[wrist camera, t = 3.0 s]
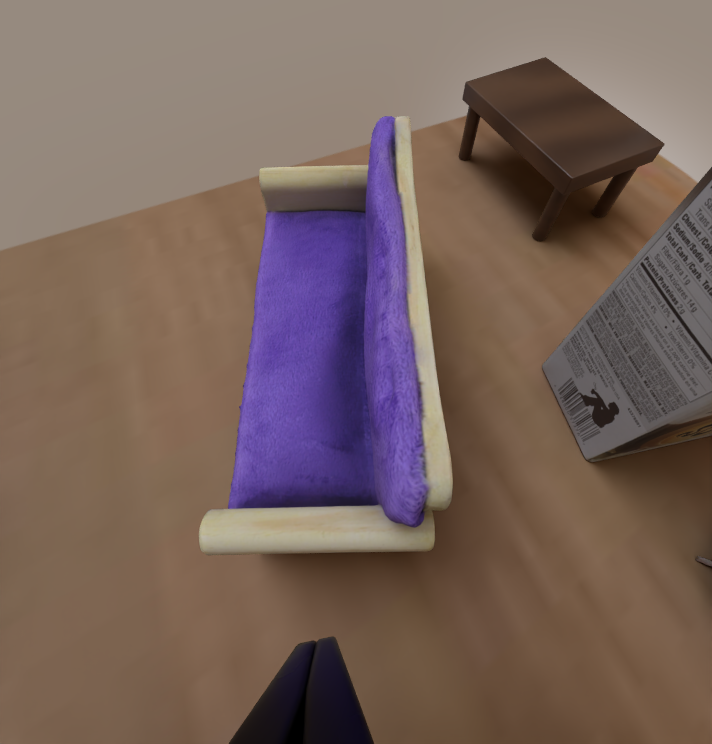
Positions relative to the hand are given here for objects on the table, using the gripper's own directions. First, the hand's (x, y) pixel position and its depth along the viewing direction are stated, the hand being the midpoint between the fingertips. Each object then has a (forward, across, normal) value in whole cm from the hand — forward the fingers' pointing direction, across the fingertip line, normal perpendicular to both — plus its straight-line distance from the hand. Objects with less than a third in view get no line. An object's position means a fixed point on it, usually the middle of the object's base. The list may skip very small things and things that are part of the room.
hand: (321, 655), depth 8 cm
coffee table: (+26, +19, +13) cm, 34 cm away
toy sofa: (+16, +1, +3) cm, 17 cm away
